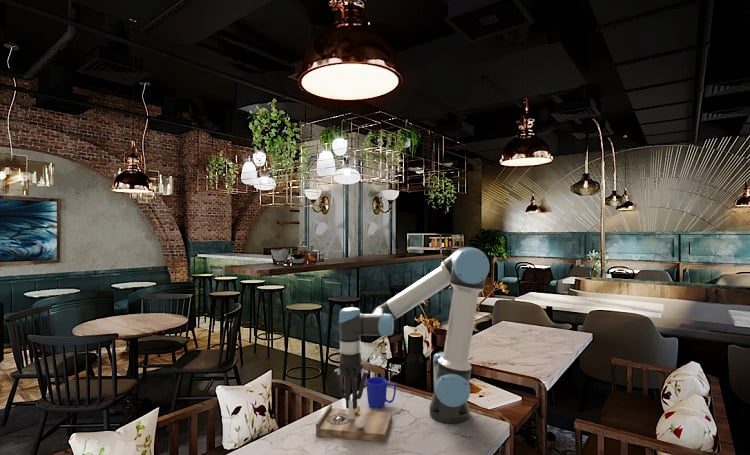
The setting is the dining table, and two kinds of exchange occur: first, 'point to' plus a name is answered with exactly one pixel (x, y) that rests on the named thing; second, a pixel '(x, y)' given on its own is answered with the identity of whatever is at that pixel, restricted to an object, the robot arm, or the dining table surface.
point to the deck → (372, 430)
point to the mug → (378, 391)
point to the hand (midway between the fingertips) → (351, 417)
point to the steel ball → (338, 419)
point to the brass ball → (357, 410)
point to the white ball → (360, 422)
